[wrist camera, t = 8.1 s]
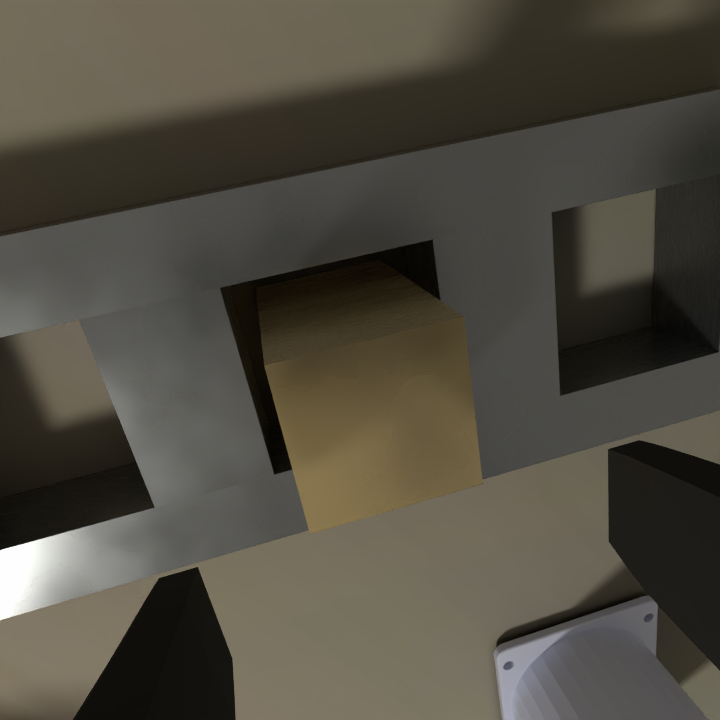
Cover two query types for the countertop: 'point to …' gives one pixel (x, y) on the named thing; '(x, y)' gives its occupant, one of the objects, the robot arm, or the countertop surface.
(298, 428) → the brass peg
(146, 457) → the rail
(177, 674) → the robot arm
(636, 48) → the countertop surface
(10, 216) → the countertop surface
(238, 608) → the countertop surface
